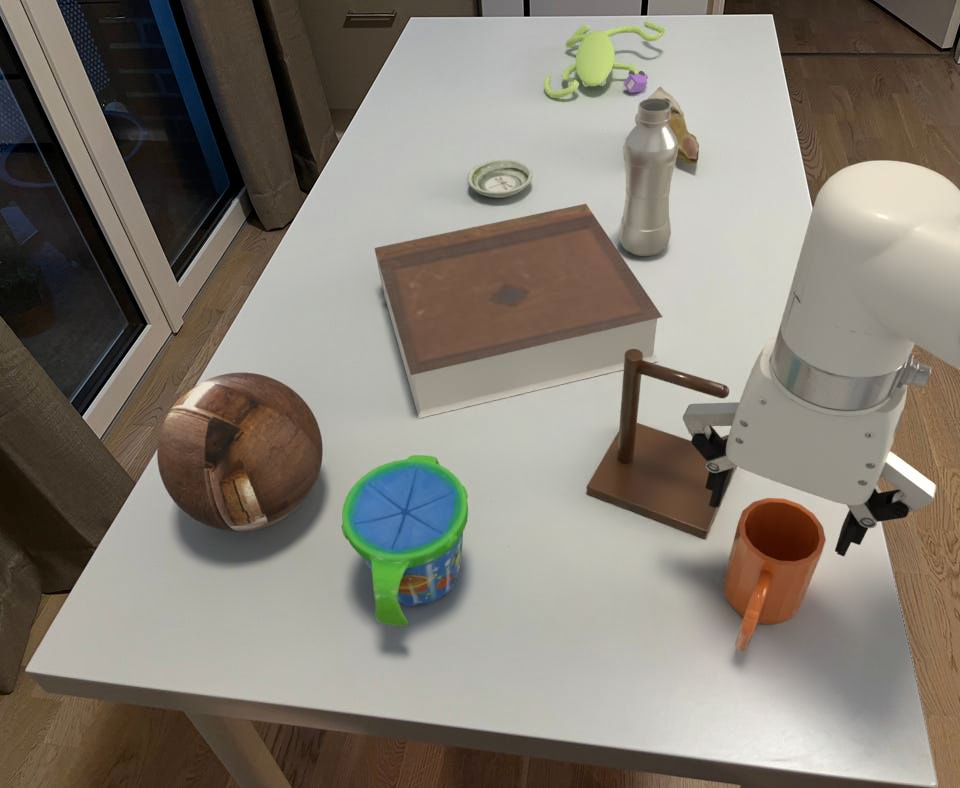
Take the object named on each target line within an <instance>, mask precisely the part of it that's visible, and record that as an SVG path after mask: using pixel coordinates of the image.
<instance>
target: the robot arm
mask: <svg viewBox="0 0 960 788" xmlns="http://www.w3.org/2000/svg"><path fill="white" fill-rule="evenodd" d="M805 231H806V232H805V234H804V238H803V243H802V245H801V249H800V253H799V257H798V260H797V264H796V268H795V271H794V274H793V278H792V281H791V285H790V289H789V293H788V296H787V300H786V303H785V307H784V311H783V314H782V318H781V321H780V325H779V328H778V331H777V335H776V336H775V337H773V338H771V339H770V340H768V341H767V342H766V343H765V345H764V346H763V348H762V349H761V351H760V353H759V354H758V356H757V358H756V360H755V362H754V364H753V366H752V368H751V371H750V373H749V376H748V378H747V381H746V383H745V385H744V389H743V391H742V394H741V397H740V398H739V401H738V402H737V401H736V402H733V401H732V402H711V403H710V402H709V403H708V402H707V403H690V404H688V406H687V408H686V410H685V411H684V413H683V415H682V421H683V423H684V425H685V427H686V429H687V432H688V434H689V435H690V436H691V440H690V441H691V442H692V444H693V445H694V447H695V448H696V449H697V450H698V451H699V452H700V454H701V455H702V456H703V457H704V458H705V460H706V461H707V462H706V465H705V466H706V468H707V470H709V474H708V479H707V483H706V487H705V488H706V489H708V490H711V491H712V495H711V499H710V504H709V506H711V507H713V508H716V507H719V505H720V506H721V504H722V502H721V500H722V498H723V499H724V497H725V495H724V493H725V491H726V492H727V490H728V488H727V486H728V484H729V485H730V483H729V481H730V478H731V474H732V470H733V468H734V467H736V468H737V467H738V468H740V469H742V470H744V471H746V472H749V473H752V474H754V475H757V476H759V477H761V478H765V479H766V480H767V479H768V480H770V481H773V482H776V483H779V484H781V485H783V486H788V487H790V488H792V489H796V490H799V491H801V492H804V493H807V494H810V495H812V496H816V497H819V498H822V499H825V500H827V501H831V502H833V503H837V504H841V505H846V507H847V508H848V512H847V514H846V515H845V517H844V521H843V523H842V526H841V529H840V532H839V536H838V538H837V542H836V546H835V549H834V552H836V555H839V556H842V557H845V556H846V554H847V552H848V550H849V547H851V544H852V543H853V544H855V545H858V546H860V545H861V544H862V541H863V540H864V538H865V537H866V534H867V533H868V530H869V529H874V528H876V527H877V525H878V523H880V522H885V521H893V520H899V519H904V518H906V517H908V515H909V513H911V512H915V511H918V510H920V509H923V508H925V507H927V506H929V505H932V504H933V503H934V501H935V497H936V492H937V488H938V487H937V485H936V484H935V483H934V482H933V481H932V480H930V479H929V478H927V477H926V476H925V475H923V474H922V473H921V472H919V471H918V470H917V469H915V468H914V467H912V465H910V464H909V463H907V462H906V461H905V460H903V459H902V458H901V457H899V456H898V455H897V454H895V453H894V452H893V451H891V449H892V446H893V443H894V440H895V438H896V435H897V432H898V430H899V426H900V423H901V419H902V415H903V414H904V413H903V412H904V409H905V405H906V400H907V392H908V387H911V386H916V387H919V388H922V389H925V387H926V386H927V384H928V381H929V379H930V376H931V373H932V369H933V367H932V366H930V365H926V364H922V363H920V360H916V359H914V358H915V354H912V352H913V350H914V347H915V345H916V346H917V347H919V348H922V349H923V350H925V352H928V353H929V354H931V355H932V356H934V357H936V358H937V359H939V360H940V361H942V362H944V363H946V364H947V365H949V366H951V367H952V368H955V369H956V370H957V371H960V189H959V188H958V187H957V186H956V185H955V184H954V183H953V182H952V181H951V180H950V179H948V178H947V177H945V176H944V175H942V174H940V173H938V172H936V171H934V170H932V169H930V168H927V167H925V166H922V165H918V164H914V163H910V162H907V161H898V160H888V159H886V160H885V159H884V160H883V159H882V160H879V159H877V160H868V161H862V162H858V163H854V164H852V165H848V166H846V167H844V168H842V169H840V170H838V171H836V172H835V173H833V175H831V176H830V177H829V178H828V179H827V180H826V182H824V184H823V185H822V186H821V188H820V189H819V191H818V193H817V195H816V198H815V200H814V204H813V207H812V210H811V213H810V216H809V221H808V224H807V228H806V230H805ZM714 427H730V429H729V433H728V434H726V435H723V436H721V435H720V434H719V433H718V432H717V431H716V430H715V429H714ZM880 477H882V479H884V480H885V481H887V482H889V484H891V485H893V486H894V487H895V488H896V489H893V490H887V491H882V490H881V489H880V487H879V485H878V482H879V480H880ZM730 482H731V481H730ZM728 487H729V486H728ZM726 489H727V490H726ZM725 494H726V493H725ZM723 496H724V497H723ZM722 501H723V500H722ZM720 503H721V504H720ZM719 508H720V507H719Z"/></svg>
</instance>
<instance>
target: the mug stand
mask: <svg viewBox="0 0 960 788" xmlns="http://www.w3.org/2000/svg"><path fill="white" fill-rule="evenodd" d="M622 371H623V373H622V386H621V402H620V412H619V413H620V415H619V425H618V427H619V429H618V431H617V433H616V434H615V437H614V439H613V440H612V442H611V444H610V445H609V446H608V449H607V451H606V453H605V454H604V456H603V457H602V459H601V460H600V463H598V464H599V465H598V466H597V468H596V470H595V471H594V473H593V475H592V477H591V478H590V480H589V482H588V484H587V485H586V494H587V495H589V496H591V497H594V498H596V499H599V500H602V501H605V502H608V503H610V504H613V505H616V506H618V507H620V508H623V509H626V510H629V511H631V512H633V513H636V514H639V515H641V516H644V517H647V518H649V519H651V520H655V521H658V522H661V523H662V524H666V525H668V526H671V527H673V528H676V529H678V530H681V531H683V532H686V533H689V534H692V535H694V536H697V537H699V538H702V539H707V537H708V535H709V532H710V530H711V527H712V525H713V523H714V520H715V518H716V516H717V513H718V511H719V509H720V507H721V505H722V501H723V500H724V497H725V495H726V493H727V490H728V489H729V486H730V484H731V481H732V479H733V476H734V474H735V472H736V470H737V467H734V468H733V470H732V474H731V478H730V481H729V484H728V486H727V489H726V491H725V493H724V496H723V498H722V500H721V503H720V505H719V507H716V508H713V507H711V506H709V504H710V499H711V495H712V491H711V490H708V489H706V488H705V487H706V483H707V479H708V474H709V470H707V468H706V466H705V465H706V462H707V461H706V460H705V458H704V457H703V456H702V455H701V454H700V452H699V451H698V450H697V449H696V448H695V447H694V445H693V444H692V442H691V440H690V439H687V438H683V437H681V436H678V435H675V434H672V433H669V432H666V431H663V430H660V429H657V428H653V427H651V426H647V425H645V424H642V423H639V422H638V415H639V414H638V413H639V402H640V395H641V394H640V393H641V382H642V375H643V376H646V377H650V378H652V379H656V380H659V381H663V382H666V383H669V384H672V385H674V386H678V387H682V388H685V389H688V390H691V391H695V392H698V393H702V394H705V395H709V396H711V397H715V398H718V399H726V398H727V397H728V396H729V395H730V388H729V386H727V385H726V384H723V383H719V382H717V381H713V380H710V379H707V378H704V377H701V376H696V375H693V374H690V373H686V372H683V371H680V370H677V369H673V368H670V367H667V366H663V365H660V364H657V363H654V362H653V363H650V362H647V361H643V353H642V352H641V351H640V350H637V349H630V350H627V351H626V352H625V357H624V370H622Z"/></svg>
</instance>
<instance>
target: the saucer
mask: <svg viewBox="0 0 960 788" xmlns="http://www.w3.org/2000/svg"><path fill="white" fill-rule="evenodd" d="M532 179H533V172H532V169H531V168H530V167H529V166H528V165H527V164H525V163H524V162H521V161H519V160H515V159H509V158H508V159H506V158H500V159H498V158H497V159H491V160H487V161H485V162H482V163H479V164H478V165H476V166H474V167H473V168H472V169H470V171H469V172H468V175H467V183H468V186H469V187H470V188H471V189H472V190H473V191H474V192H477V193H478V194H480V195H482V196H485V197H489V198H494V199H503V198H508V197H510V196H514V195H516V194H518V193H520V192H521V191H523V190H524V189H525V188H526V187H527V186H528V185H529V184H530V183H531V182H532Z"/></svg>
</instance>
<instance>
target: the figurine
mask: <svg viewBox="0 0 960 788" xmlns="http://www.w3.org/2000/svg"><path fill="white" fill-rule="evenodd" d="M643 26H644V27H645V28H646V29H649V30H651V31H655V32H657V33H656V34H655V33H654V34H650V33H648V32H646V31H645V30H644V29H643V28H641V27H640V26H637V25H622V26H617V27H614V28H610V29H607V30H604V31H603V30H600V29H599V30H598V29H595V30H592V31H590V30H591V26H590V25H589V24H584V25H582V26H580V27H579V28H578V29H577V30H576V31H575V32H574V33H573V35H572V36H571V37H570V38H569V39H567V41H566V42H565V47H566V48H572V49H573V48H574V47H575V45H577V44H578V43H579V45H578V47H577V51H576V54H575V63H573V64H571V65H569V66H568V67H567V68H565V70H564V71H563V73H562V74H561V79H562V80H563V81H565V82H570V83H571V82H572V83H571V85H569V86H567V87H566V88H563V89H561V90H553V89H552V88H551V85H550V84H551V80H552V77H551V75H547V76H546V77H545V78H544V81H543V89H544V92H545V94H546V95H547V96H548V97H549V98H552V99H560V98H565V97H567V96H569V95H571V94H572V93H574V92H575V91H576V90H577V89H578V88H579V85H580V83H579V81H578V80H576V79H574V78H569V77H570V76H571V74H573V72H575V71H576V73H577V75H578V77H579V79H580V81H581V83H582V86H584V88H588V87H596V86H601V87H605V86H606V83H607V78H608V76H609V75H610V73H611V71H612V70H625V71H628V76H627V77H626V79H625V80H624V82H622V84H623V86H624V87H625V88H626V89H627V91H628V92H629V93H630V94H632V93H633V94H634V93H641V92H642V91H643V90H644V89H645V87H646V86H647V84H648V78H649V76H648V74H647V73H645V72H644V71H643V70H639V69H638V68H637V67H636V66H635V65H633V64H629V63H628V64H627V63H622V62H616V61H615V56H616V55H615V53H616V52H615V47H614V43H613V40H612V39H611V38H610V37H613V36H615V35H620V34H637V36H639V37H640V38H641V39H643V40H644V41H645V42H656V41H657V40H660V38H661V37H663V36H664V34H665V33H666V31H667V30H666V28H665V27H664V26H662V25H658V24H655V23H653V22H650V21H649V20H646V21H644V23H643Z"/></svg>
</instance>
